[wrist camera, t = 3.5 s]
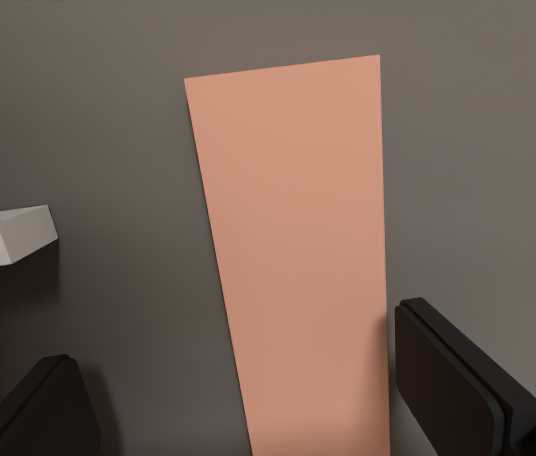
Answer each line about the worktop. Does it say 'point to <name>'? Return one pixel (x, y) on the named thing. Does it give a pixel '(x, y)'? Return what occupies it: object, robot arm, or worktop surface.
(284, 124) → the guide channel
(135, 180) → the worktop surface
